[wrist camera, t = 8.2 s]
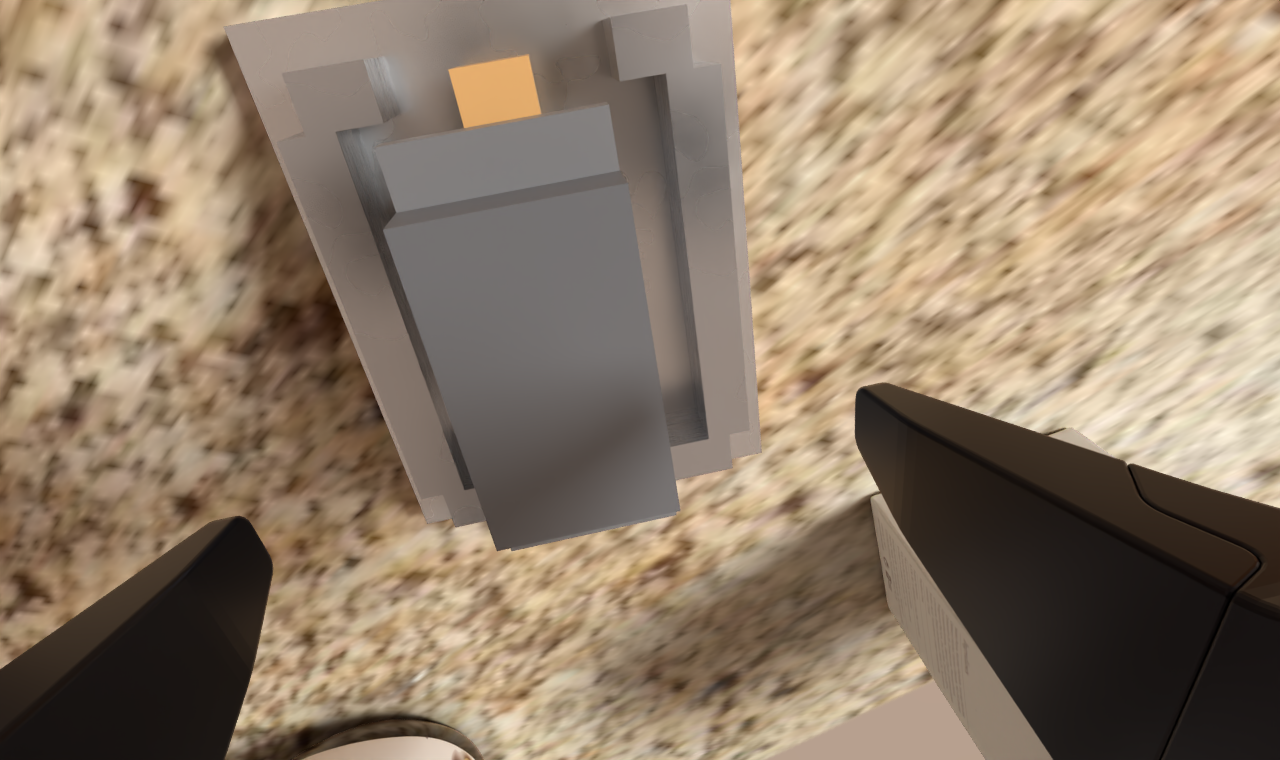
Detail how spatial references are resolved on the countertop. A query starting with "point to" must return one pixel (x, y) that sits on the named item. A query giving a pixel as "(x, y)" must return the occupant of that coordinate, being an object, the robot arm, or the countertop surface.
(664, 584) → the countertop surface
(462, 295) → the block
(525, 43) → the tray
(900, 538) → the small box
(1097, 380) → the countertop surface
